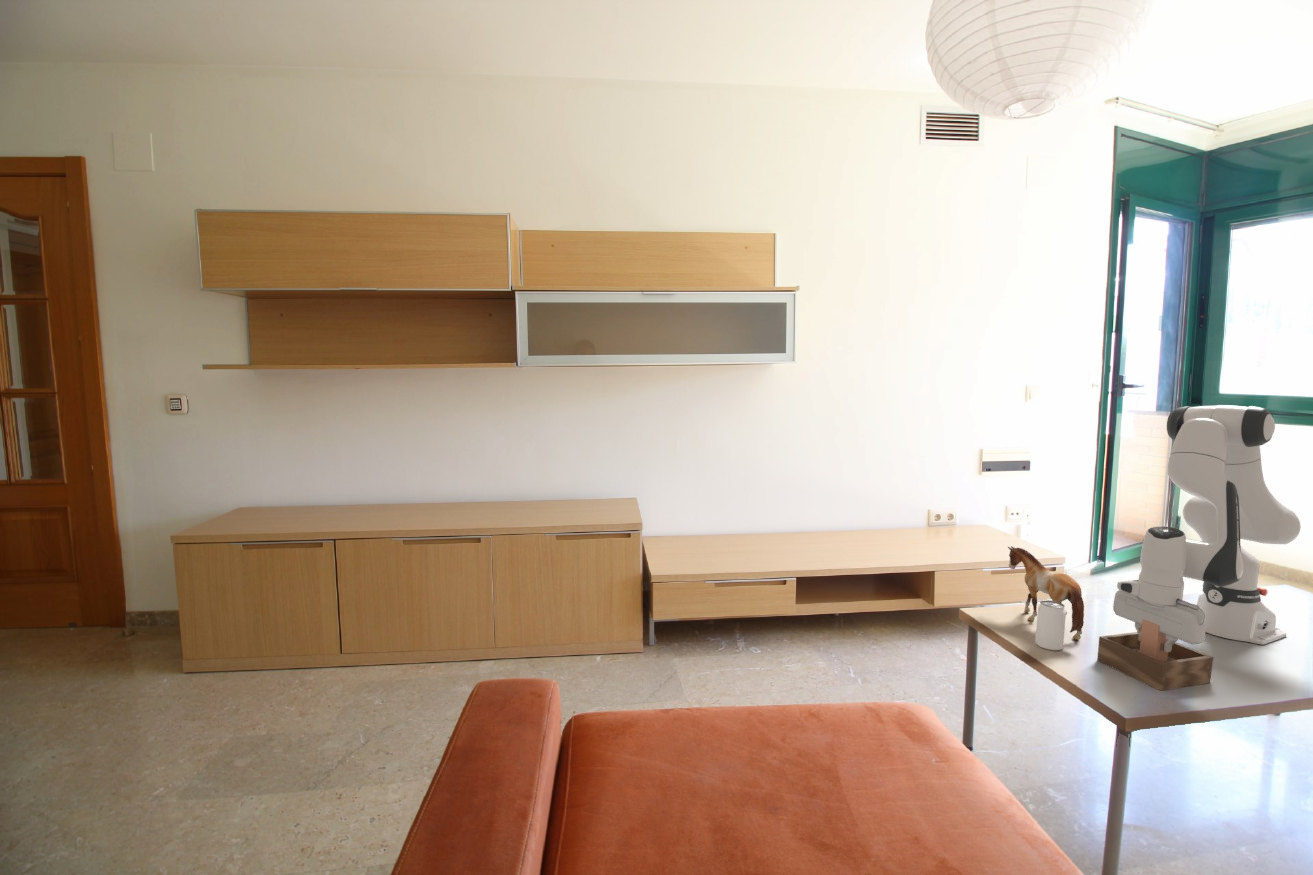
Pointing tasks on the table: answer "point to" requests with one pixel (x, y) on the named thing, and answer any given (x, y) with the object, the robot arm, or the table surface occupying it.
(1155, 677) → the wooden tray
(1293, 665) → the table surface
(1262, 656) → the table surface
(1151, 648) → the peg
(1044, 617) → the can
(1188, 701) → the table surface
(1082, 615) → the horse figurine
